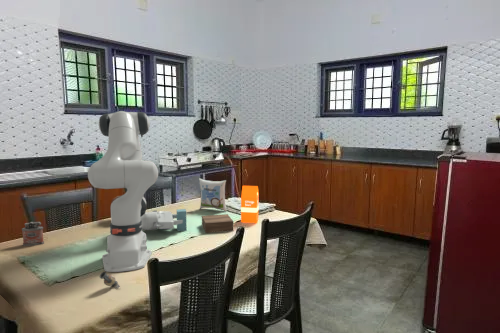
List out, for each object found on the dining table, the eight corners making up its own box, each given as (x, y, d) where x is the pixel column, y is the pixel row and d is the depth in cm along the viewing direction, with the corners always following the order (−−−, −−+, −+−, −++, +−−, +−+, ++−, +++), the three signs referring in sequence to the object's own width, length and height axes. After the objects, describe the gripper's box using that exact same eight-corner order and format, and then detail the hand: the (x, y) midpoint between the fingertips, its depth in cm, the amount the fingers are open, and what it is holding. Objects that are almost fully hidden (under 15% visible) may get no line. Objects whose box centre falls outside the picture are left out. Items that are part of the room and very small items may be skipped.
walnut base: (233, 230, 169) (233, 221, 168) (205, 233, 165) (205, 223, 164) (227, 223, 182) (227, 214, 181) (201, 225, 178) (201, 215, 177)
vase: (102, 294, 104) (101, 276, 104) (98, 289, 108) (96, 271, 108) (120, 289, 107) (119, 271, 107) (115, 284, 112) (114, 266, 111)
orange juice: (256, 223, 182) (257, 187, 179) (240, 222, 183) (240, 186, 181) (258, 219, 190) (258, 184, 187) (243, 218, 191) (243, 184, 189)
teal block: (186, 230, 169) (186, 211, 168) (177, 231, 167) (177, 211, 166) (185, 227, 173) (185, 209, 172) (176, 228, 172) (176, 209, 171)
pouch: (203, 207, 217) (203, 177, 215) (229, 210, 209) (229, 179, 207) (196, 209, 210) (196, 178, 208) (222, 213, 202) (222, 181, 200)
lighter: (21, 246, 145) (20, 224, 144) (24, 243, 148) (23, 221, 147) (42, 244, 147) (41, 222, 146) (45, 242, 150) (43, 220, 149)
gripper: (153, 220, 156) (183, 218, 159) (153, 209, 175) (180, 208, 179) (153, 233, 156) (183, 230, 160) (153, 221, 176) (180, 219, 180)
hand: (181, 218), depth 170 cm, fingers open, 8 cm apart
